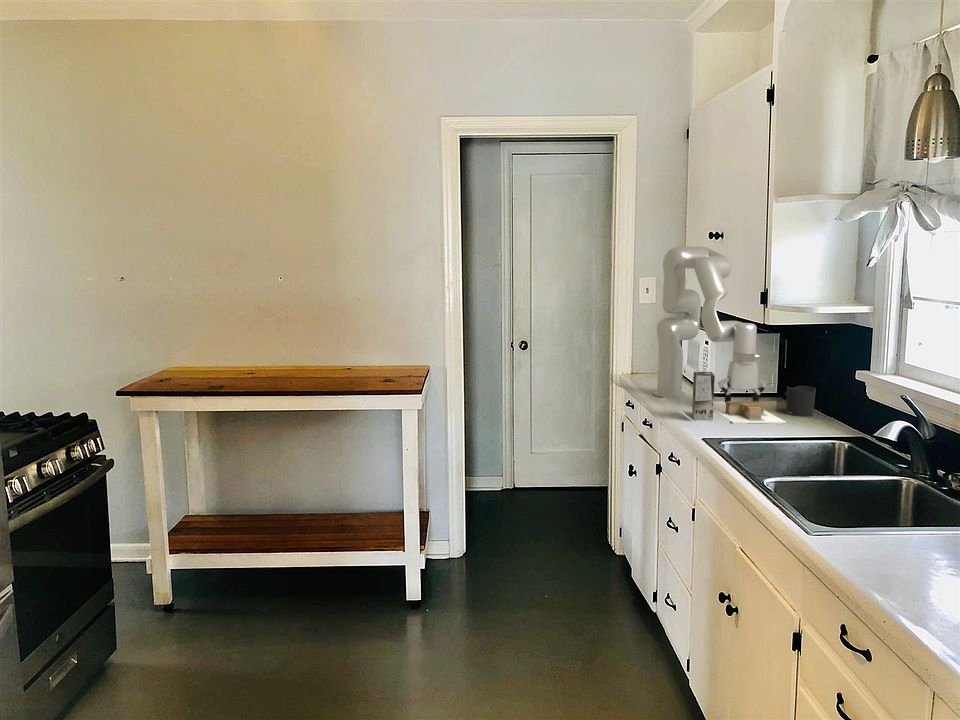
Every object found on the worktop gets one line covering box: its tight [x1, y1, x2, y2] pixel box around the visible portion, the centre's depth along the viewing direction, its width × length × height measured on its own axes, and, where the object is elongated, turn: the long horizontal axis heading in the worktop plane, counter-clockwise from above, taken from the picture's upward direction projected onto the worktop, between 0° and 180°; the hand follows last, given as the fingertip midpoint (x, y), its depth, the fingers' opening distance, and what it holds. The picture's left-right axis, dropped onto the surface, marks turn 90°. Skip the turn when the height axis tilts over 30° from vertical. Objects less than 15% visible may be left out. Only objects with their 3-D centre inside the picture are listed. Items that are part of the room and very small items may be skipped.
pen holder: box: [785, 385, 817, 418], centre depth 261 cm, size 9×9×10 cm
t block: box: [726, 400, 765, 420], centre depth 259 cm, size 12×12×4 cm
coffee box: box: [691, 371, 716, 422], centre depth 256 cm, size 9×6×16 cm
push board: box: [713, 401, 787, 425], centre depth 267 cm, size 34×18×1 cm, turn 1°
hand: (741, 405), depth 266 cm, fingers open, 9 cm apart
